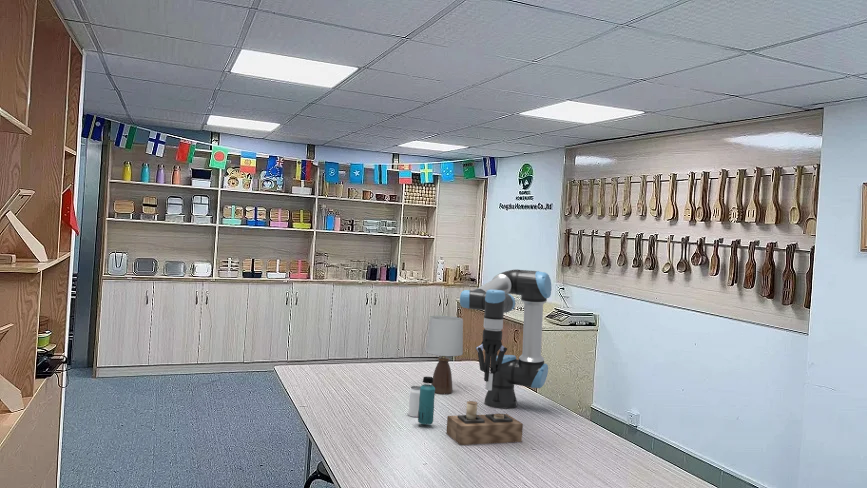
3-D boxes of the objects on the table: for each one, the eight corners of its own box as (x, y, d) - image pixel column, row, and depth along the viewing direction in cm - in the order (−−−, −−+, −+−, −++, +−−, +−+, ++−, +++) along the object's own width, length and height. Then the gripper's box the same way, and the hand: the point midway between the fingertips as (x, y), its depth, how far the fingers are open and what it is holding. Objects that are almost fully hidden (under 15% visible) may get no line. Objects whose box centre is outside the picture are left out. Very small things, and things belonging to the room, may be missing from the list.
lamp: (467, 394, 325) (472, 320, 324) (436, 397, 314) (441, 321, 314) (445, 386, 340) (450, 315, 340) (415, 388, 330) (420, 315, 329)
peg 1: (473, 420, 257) (474, 400, 257) (477, 423, 253) (479, 403, 253) (464, 421, 255) (465, 401, 255) (468, 424, 252) (469, 403, 252)
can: (421, 418, 278) (423, 390, 277) (406, 416, 279) (408, 388, 279) (424, 414, 284) (426, 386, 284) (410, 412, 285) (411, 385, 285)
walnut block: (505, 430, 267) (506, 411, 267) (521, 441, 254) (523, 421, 254) (446, 433, 258) (447, 413, 258) (460, 445, 245) (461, 423, 245)
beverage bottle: (435, 425, 269) (438, 376, 269) (429, 429, 263) (433, 379, 262) (420, 422, 271) (423, 374, 271) (414, 426, 265) (418, 377, 265)
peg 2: (500, 432, 261) (501, 413, 261) (504, 436, 257) (505, 416, 257) (490, 433, 260) (492, 413, 260) (495, 436, 256) (496, 416, 256)
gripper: (503, 328, 262) (498, 387, 262) (473, 327, 257) (469, 387, 257) (512, 331, 255) (507, 391, 255) (482, 330, 250) (477, 392, 250)
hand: (488, 389), depth 256 cm, fingers closed
